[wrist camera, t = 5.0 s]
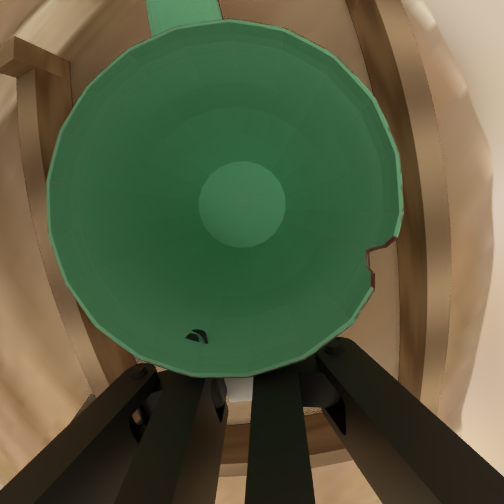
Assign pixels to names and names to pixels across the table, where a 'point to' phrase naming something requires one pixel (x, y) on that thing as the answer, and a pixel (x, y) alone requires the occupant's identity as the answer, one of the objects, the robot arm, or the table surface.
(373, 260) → the table surface
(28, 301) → the table surface
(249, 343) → the mug
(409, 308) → the bay
